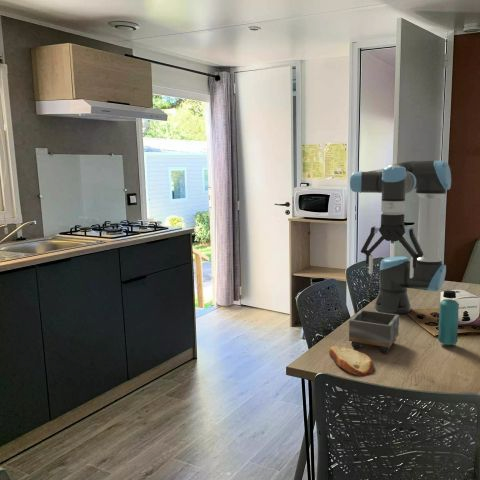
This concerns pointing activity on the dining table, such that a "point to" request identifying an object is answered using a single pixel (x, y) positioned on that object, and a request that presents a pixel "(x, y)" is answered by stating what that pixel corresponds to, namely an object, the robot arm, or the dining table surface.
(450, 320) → the beverage bottle
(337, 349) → the bread slice
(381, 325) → the cart
